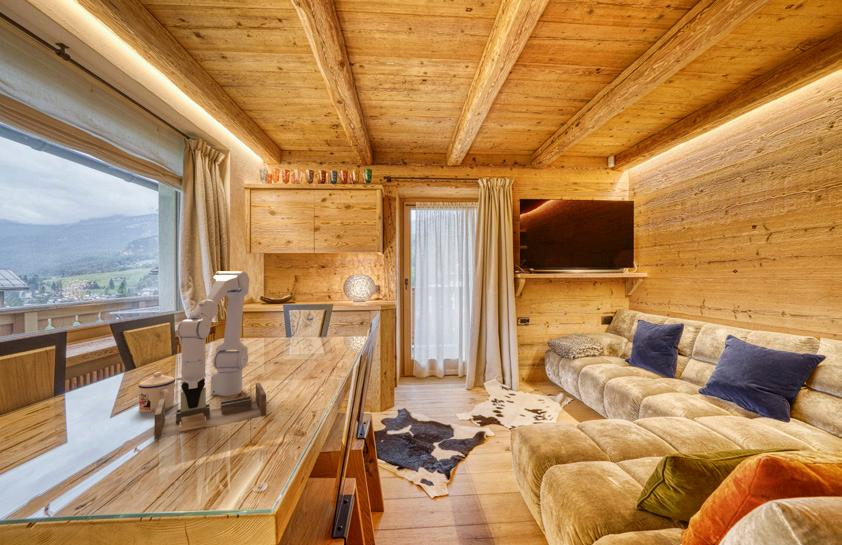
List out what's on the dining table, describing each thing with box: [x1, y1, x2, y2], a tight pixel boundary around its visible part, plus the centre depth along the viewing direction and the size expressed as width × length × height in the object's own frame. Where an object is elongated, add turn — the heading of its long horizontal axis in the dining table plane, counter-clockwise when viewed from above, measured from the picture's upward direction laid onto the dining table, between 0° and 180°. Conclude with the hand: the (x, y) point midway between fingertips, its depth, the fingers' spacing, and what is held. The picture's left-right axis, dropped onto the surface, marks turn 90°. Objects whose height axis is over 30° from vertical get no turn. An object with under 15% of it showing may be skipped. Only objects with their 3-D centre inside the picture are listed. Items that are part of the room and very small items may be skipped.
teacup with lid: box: [138, 371, 176, 413], centre depth 104 cm, size 12×9×12 cm
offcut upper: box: [181, 413, 205, 427], centre depth 90 cm, size 3×5×1 cm
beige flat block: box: [180, 386, 207, 412], centre depth 96 cm, size 2×6×8 cm, turn 124°
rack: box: [153, 382, 267, 440], centre depth 96 cm, size 14×26×7 cm, turn 124°
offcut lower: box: [179, 417, 206, 432], centre depth 90 cm, size 4×6×1 cm, turn 124°
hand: (193, 406), depth 96 cm, fingers closed on beige flat block, 1 cm apart
